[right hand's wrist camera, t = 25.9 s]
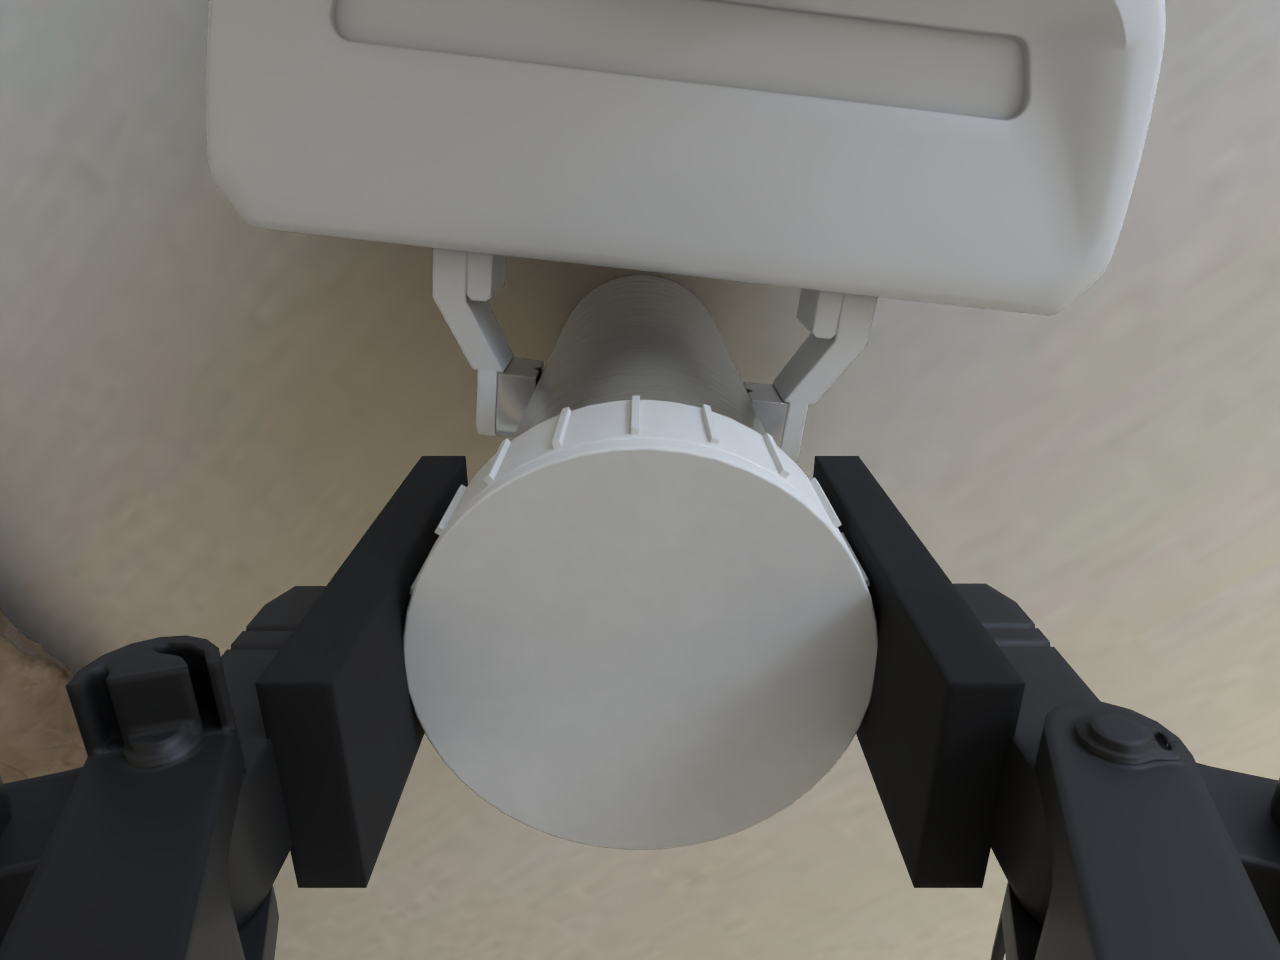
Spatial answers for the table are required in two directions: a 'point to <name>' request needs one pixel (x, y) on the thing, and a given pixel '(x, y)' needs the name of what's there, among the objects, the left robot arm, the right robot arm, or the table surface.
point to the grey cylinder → (640, 354)
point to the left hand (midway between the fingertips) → (638, 444)
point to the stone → (34, 710)
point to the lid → (640, 628)
